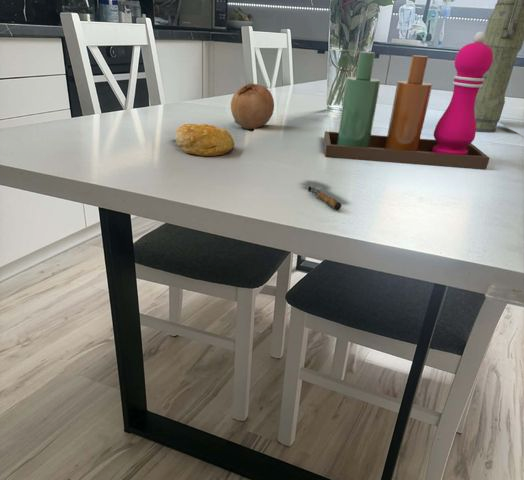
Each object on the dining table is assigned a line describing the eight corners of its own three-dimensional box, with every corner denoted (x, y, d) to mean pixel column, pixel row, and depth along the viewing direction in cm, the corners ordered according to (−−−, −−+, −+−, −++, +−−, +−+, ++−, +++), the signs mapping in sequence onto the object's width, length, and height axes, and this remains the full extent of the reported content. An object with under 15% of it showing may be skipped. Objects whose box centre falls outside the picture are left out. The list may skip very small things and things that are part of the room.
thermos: (488, 125, 128) (539, -45, 107) (502, 134, 118) (561, -51, 98) (454, 122, 128) (499, -47, 108) (465, 131, 118) (516, -53, 98)
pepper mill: (471, 165, 87) (509, 33, 76) (430, 161, 88) (462, 30, 76) (464, 156, 93) (499, 32, 82) (426, 152, 94) (455, 29, 82)
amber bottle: (413, 152, 93) (434, 56, 84) (418, 160, 88) (442, 58, 79) (382, 150, 93) (400, 53, 84) (385, 157, 88) (405, 56, 79)
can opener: (341, 210, 64) (342, 202, 63) (325, 211, 63) (326, 202, 63) (317, 190, 71) (318, 182, 70) (302, 190, 70) (303, 182, 70)
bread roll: (245, 154, 87) (246, 126, 84) (188, 159, 82) (187, 129, 79) (220, 142, 93) (220, 115, 91) (166, 146, 88) (165, 118, 86)
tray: (466, 156, 96) (470, 142, 94) (485, 173, 85) (489, 157, 84) (323, 145, 97) (324, 131, 95) (324, 160, 86) (326, 145, 85)
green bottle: (366, 148, 93) (382, 52, 84) (369, 156, 89) (387, 54, 79) (335, 146, 94) (348, 50, 85) (337, 153, 89) (351, 52, 80)
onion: (247, 146, 106) (240, 103, 97) (227, 125, 110) (218, 82, 102) (284, 127, 107) (279, 84, 99) (263, 108, 112) (257, 64, 103)
